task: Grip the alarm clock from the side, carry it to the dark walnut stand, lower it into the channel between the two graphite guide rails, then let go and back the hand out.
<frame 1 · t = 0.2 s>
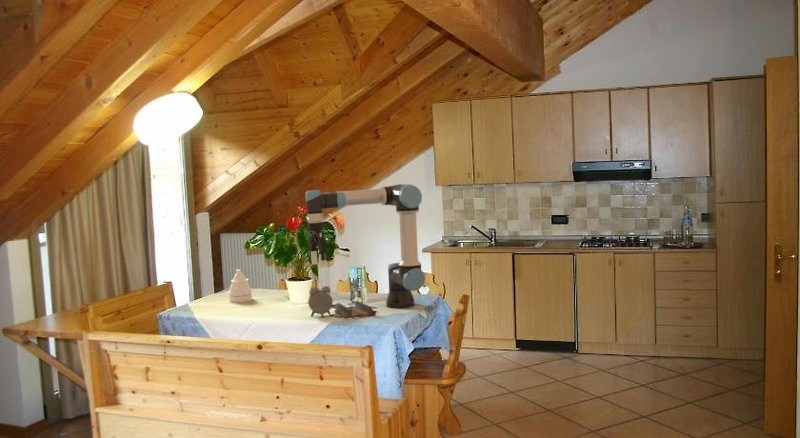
hand: (318, 265, 333), 27 cm above the table, tool pointing down, fingers open, 13 cm apart
alarm clock: (321, 316, 347), on the table
honey pot: (240, 300, 398), on the table
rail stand: (353, 314, 350), on the table
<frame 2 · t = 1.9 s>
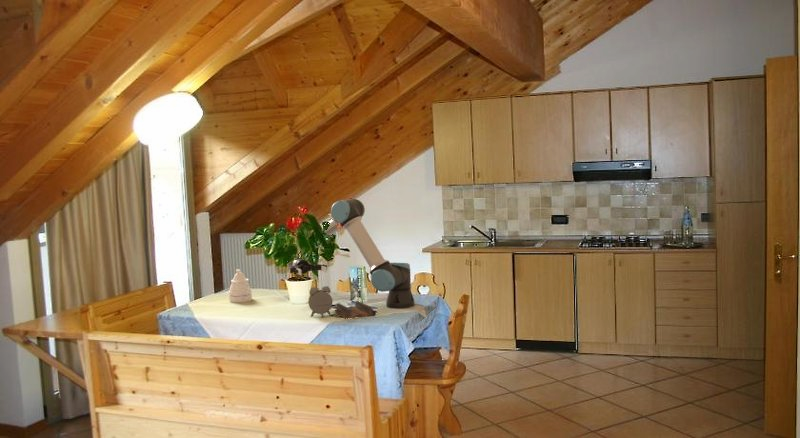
hand: (313, 271, 354), 22 cm above the table, tool horizontal, fingers open, 13 cm apart
nothing on the table moved.
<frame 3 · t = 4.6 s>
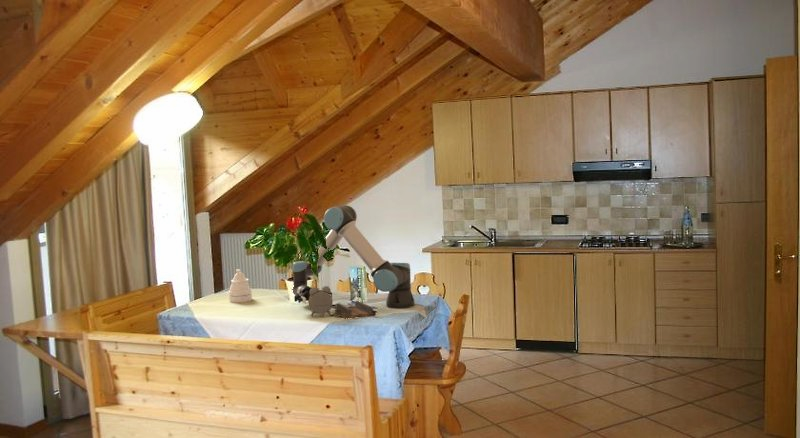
hand: (318, 299, 348), 8 cm above the table, tool horizontal, fingers open, 13 cm apart
alarm clock: (321, 316, 347), on the table, touching gripper
everything else where it was.
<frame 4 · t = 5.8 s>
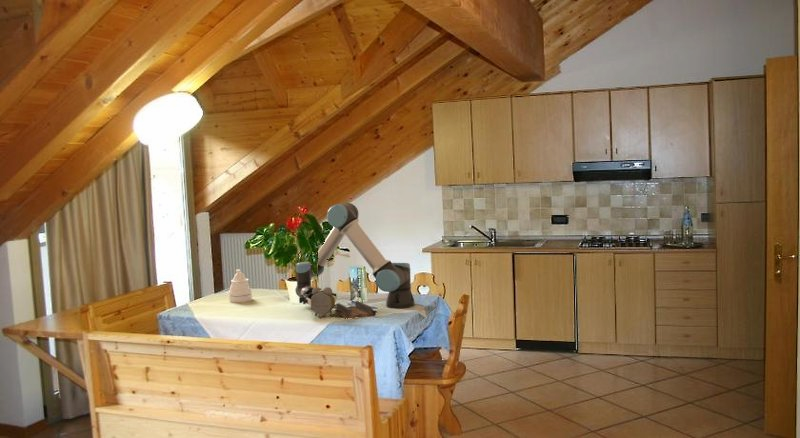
hand: (323, 300, 343), 9 cm above the table, tool horizontal, fingers open, 12 cm apart
alarm clock: (322, 317, 345), on the table, touching gripper
everything else where it was.
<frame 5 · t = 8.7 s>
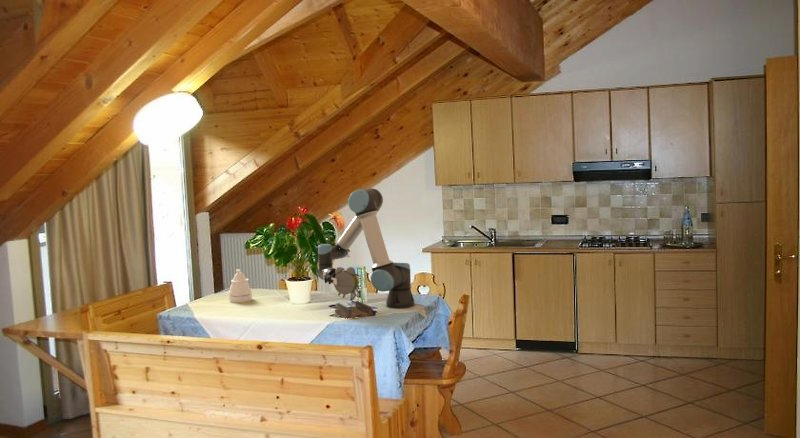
hand: (347, 280, 345), 18 cm above the table, tool horizontal, fingers closed on alarm clock, 11 cm apart
alarm clock: (346, 297, 347), point 9 cm above the table, touching gripper
everything else where it was.
when the fingers open (11 cm above the table, at t = 11.2 s): alarm clock drops 1 cm, resting on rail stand.
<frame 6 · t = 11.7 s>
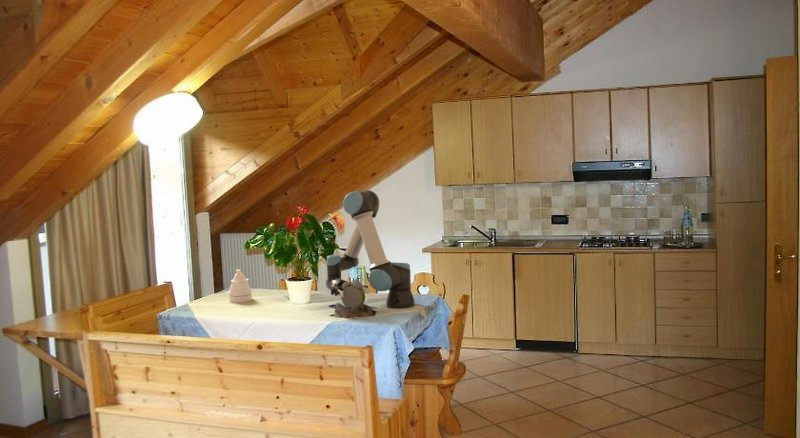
hand: (355, 292, 346), 12 cm above the table, tool horizontal, fingers open, 13 cm apart
alarm clock: (354, 311, 348), point 2 cm above the table, touching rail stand
everything else where it was.
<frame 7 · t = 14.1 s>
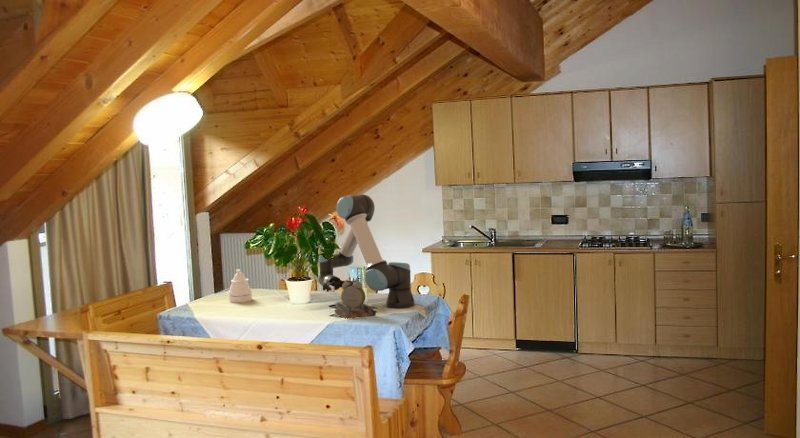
hand: (346, 288, 358), 12 cm above the table, tool horizontal, fingers open, 13 cm apart
nothing on the table moved.
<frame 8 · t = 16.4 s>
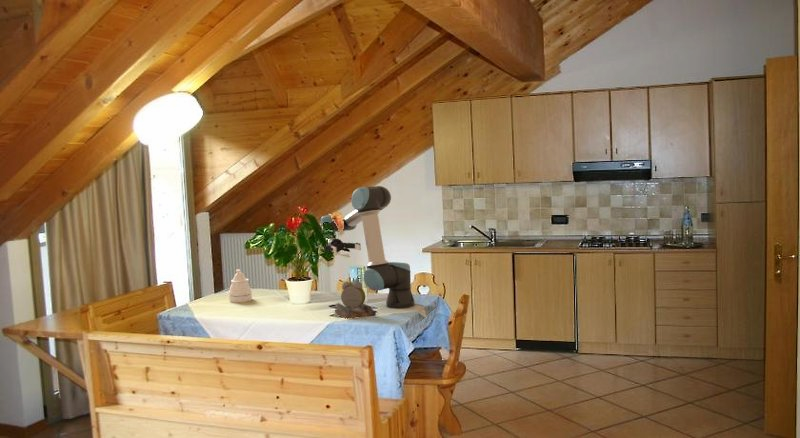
hand: (348, 248, 360), 32 cm above the table, tool horizontal, fingers open, 13 cm apart
nothing on the table moved.
at the end: alarm clock inside the target area on the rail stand (1.9 cm from its centre), point 1.6 cm above the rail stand's base; alarm clock tilted 4°; the gripper is holding nothing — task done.
